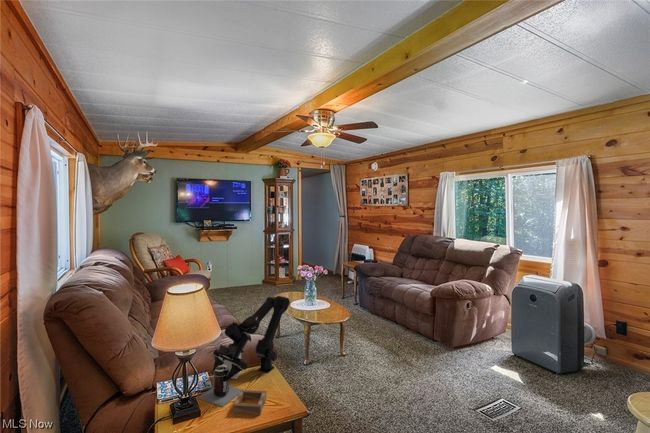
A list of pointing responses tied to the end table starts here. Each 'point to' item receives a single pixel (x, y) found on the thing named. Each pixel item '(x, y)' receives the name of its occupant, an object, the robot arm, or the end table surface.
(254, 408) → the pocket frame
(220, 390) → the beverage can
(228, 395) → the slate mat
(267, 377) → the end table surface
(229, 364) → the supplement box
